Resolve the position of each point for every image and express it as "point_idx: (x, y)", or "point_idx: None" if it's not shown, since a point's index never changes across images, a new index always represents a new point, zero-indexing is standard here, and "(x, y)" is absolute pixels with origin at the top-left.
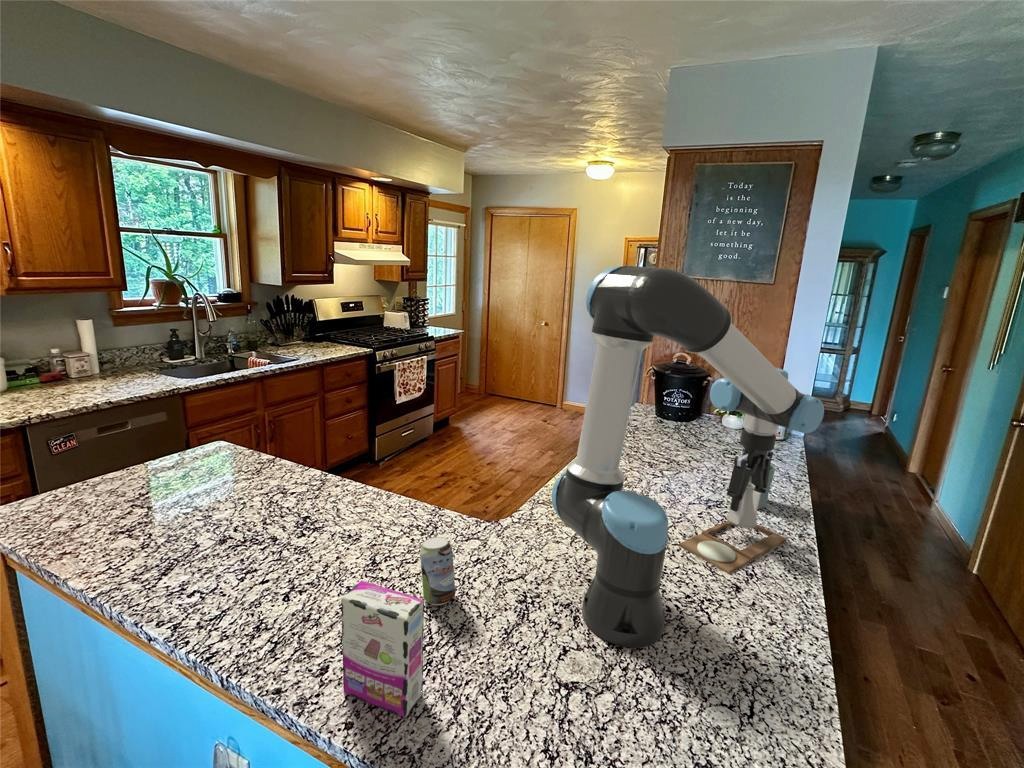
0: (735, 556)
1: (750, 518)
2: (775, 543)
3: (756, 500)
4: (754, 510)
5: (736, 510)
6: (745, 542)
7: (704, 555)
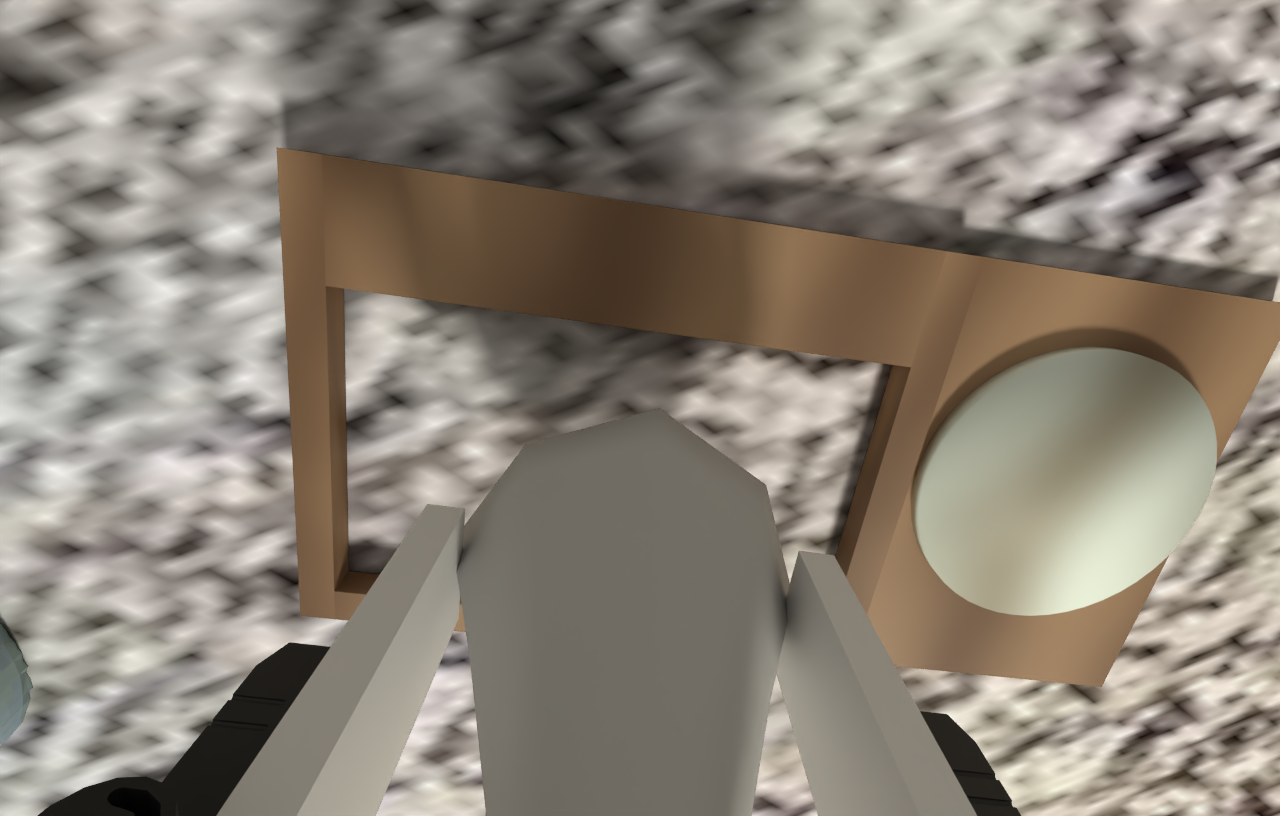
0: (1014, 362)
1: (699, 521)
2: (509, 195)
3: (370, 699)
4: (435, 575)
5: (934, 725)
6: (657, 405)
7: (1190, 518)
